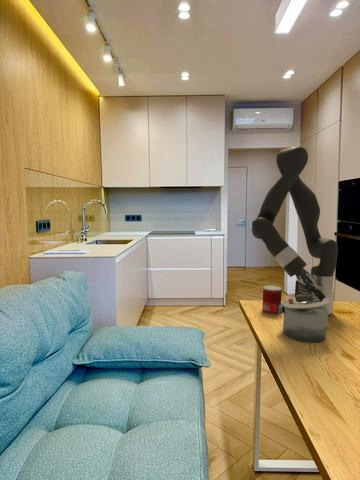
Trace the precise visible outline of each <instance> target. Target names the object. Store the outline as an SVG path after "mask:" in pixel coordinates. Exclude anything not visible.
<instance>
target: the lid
mask: <svg viewBox="0 0 360 480" xmlns="http://www.w3.org/2000/svg"><path fill="white" fill-rule="evenodd" d="M282 303H283V306H284V307H286V308H291V309H309V308H316V307H321V306H324V305H326V304H328V303H329V299H328V298H327V297H325V298H324V299H323V300H321V301H320V300H319V299H318V298H317V296H316V295H296V296H295V295H294V296H293V297H290V298H286V299H284V300H282V301H281V304H282Z"/></svg>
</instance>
